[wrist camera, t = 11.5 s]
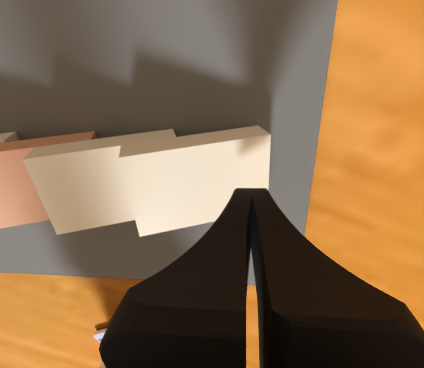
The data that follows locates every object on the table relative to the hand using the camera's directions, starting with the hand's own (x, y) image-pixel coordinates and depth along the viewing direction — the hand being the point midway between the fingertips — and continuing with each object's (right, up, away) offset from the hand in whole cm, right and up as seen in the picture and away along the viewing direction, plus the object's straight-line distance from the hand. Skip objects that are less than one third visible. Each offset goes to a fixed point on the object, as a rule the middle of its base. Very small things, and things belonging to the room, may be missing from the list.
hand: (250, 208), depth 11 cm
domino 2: (-3, +2, +4) cm, 5 cm away
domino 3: (+1, +2, +3) cm, 4 cm away
